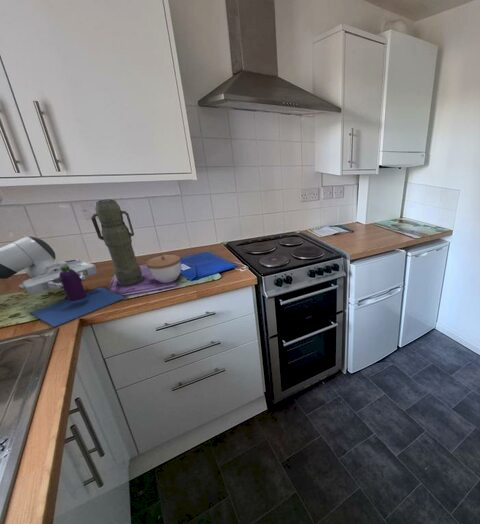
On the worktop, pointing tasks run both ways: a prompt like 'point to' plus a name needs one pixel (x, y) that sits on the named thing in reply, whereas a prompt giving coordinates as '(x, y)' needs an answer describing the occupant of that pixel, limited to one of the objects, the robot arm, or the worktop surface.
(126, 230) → the thermos
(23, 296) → the worktop surface
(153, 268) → the lidded bowl
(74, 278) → the purple bottle
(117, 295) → the napkin
